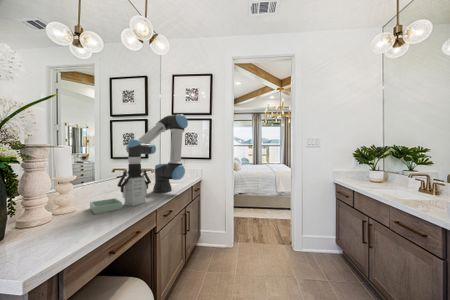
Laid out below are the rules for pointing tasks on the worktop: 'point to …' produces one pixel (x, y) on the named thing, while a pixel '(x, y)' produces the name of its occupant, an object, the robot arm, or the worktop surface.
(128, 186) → the supplement box
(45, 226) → the worktop surface
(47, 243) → the worktop surface
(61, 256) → the worktop surface
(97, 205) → the tray
